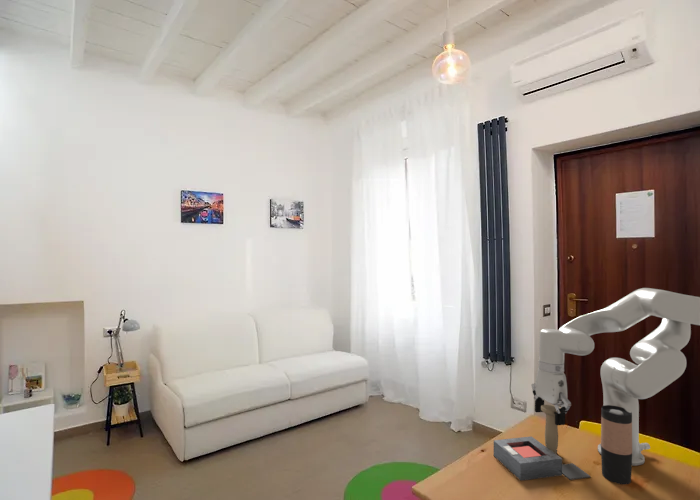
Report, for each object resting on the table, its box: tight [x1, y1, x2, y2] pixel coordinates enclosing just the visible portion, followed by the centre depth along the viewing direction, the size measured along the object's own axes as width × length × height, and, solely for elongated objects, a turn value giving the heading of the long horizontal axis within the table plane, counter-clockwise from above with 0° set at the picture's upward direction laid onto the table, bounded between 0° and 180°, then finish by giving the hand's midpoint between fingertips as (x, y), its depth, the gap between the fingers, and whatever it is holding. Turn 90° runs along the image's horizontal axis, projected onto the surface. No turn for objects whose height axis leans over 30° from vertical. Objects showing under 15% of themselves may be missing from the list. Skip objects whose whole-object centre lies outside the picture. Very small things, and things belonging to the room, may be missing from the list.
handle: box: [541, 404, 561, 455], centre depth 128 cm, size 5×6×15 cm
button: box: [513, 446, 541, 458], centre depth 121 cm, size 6×6×1 cm
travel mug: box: [600, 405, 633, 485], centre depth 114 cm, size 8×8×20 cm
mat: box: [562, 462, 591, 481], centre depth 117 cm, size 7×7×1 cm
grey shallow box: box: [493, 435, 563, 482], centre depth 121 cm, size 14×14×5 cm
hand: (549, 418), depth 128 cm, fingers open, 9 cm apart
